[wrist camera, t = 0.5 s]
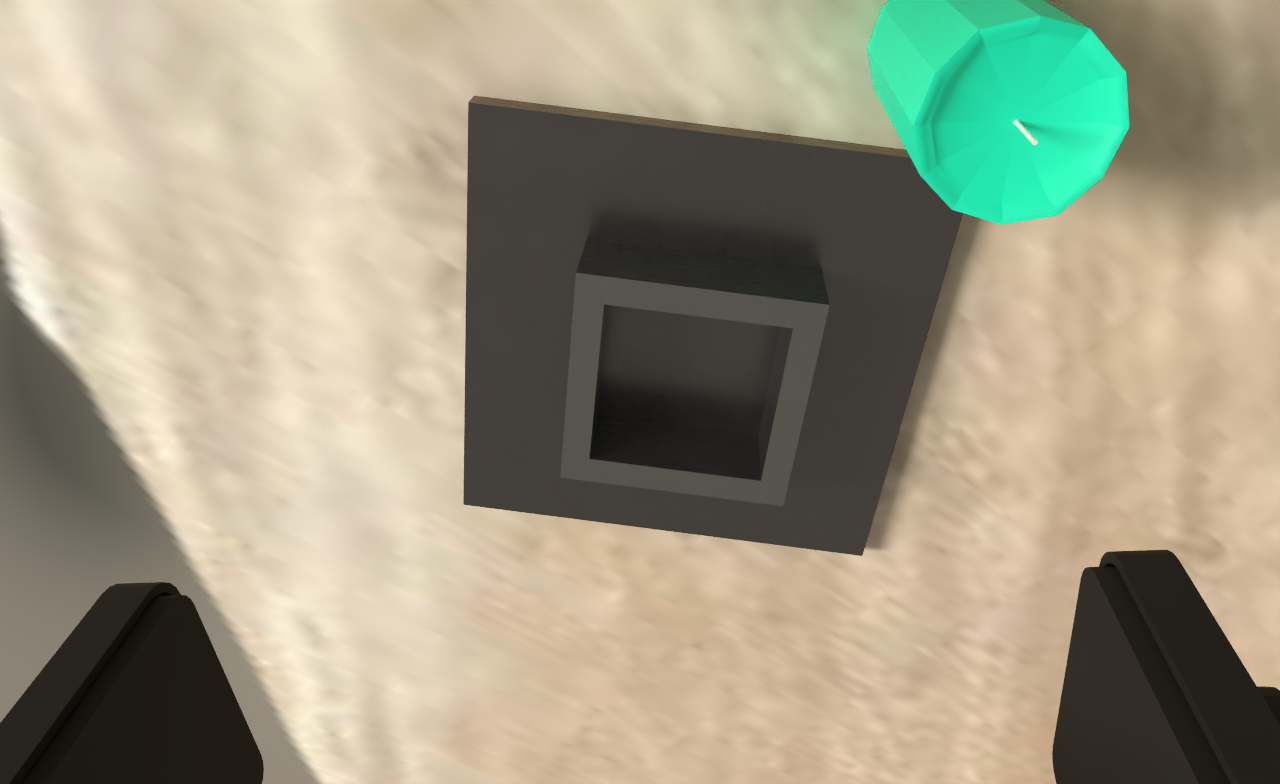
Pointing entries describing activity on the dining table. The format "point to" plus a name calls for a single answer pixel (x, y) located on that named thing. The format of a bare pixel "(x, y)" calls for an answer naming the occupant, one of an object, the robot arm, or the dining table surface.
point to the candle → (999, 102)
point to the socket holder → (691, 322)
